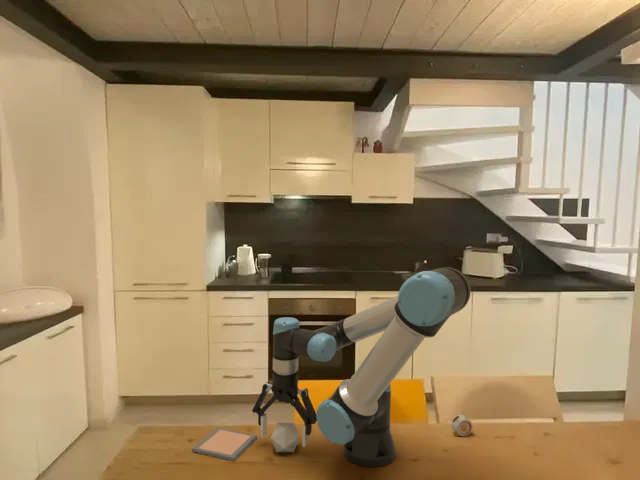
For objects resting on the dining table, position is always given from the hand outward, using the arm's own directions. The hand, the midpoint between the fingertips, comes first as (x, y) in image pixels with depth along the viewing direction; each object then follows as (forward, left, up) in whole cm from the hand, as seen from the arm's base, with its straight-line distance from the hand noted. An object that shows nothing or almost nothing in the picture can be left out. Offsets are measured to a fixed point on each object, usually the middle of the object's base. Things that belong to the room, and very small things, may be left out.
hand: (284, 440), depth 137 cm
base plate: (+18, +4, -3) cm, 18 cm away
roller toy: (-49, -29, -3) cm, 57 cm away
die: (0, 0, -3) cm, 3 cm away
